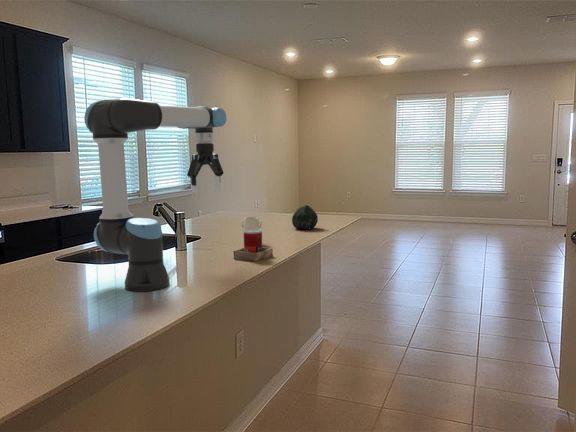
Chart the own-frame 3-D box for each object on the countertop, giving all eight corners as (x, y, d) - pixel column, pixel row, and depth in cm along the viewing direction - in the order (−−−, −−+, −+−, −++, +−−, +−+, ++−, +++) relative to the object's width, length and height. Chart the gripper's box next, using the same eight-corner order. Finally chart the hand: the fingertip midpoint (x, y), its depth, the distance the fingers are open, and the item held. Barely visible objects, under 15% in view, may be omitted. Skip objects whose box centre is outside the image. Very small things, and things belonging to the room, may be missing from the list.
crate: (255, 261, 208) (255, 253, 208) (233, 258, 215) (233, 250, 215) (272, 256, 218) (272, 248, 218) (251, 253, 225) (251, 245, 225)
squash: (294, 217, 302) (292, 200, 291) (318, 218, 300) (318, 201, 289) (291, 235, 293) (289, 219, 282) (317, 236, 291) (316, 220, 280)
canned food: (260, 257, 212) (259, 232, 210) (242, 257, 213) (241, 232, 212) (264, 254, 219) (263, 229, 218) (247, 253, 221) (246, 229, 219)
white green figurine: (264, 242, 252) (264, 217, 250) (259, 245, 245) (259, 218, 243) (244, 241, 255) (244, 216, 253) (239, 244, 248) (238, 218, 246)
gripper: (189, 142, 203) (192, 194, 206) (230, 142, 223) (231, 189, 226) (177, 143, 207) (179, 193, 210) (217, 143, 228) (219, 189, 230)
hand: (206, 191), depth 218 cm, fingers open, 13 cm apart
